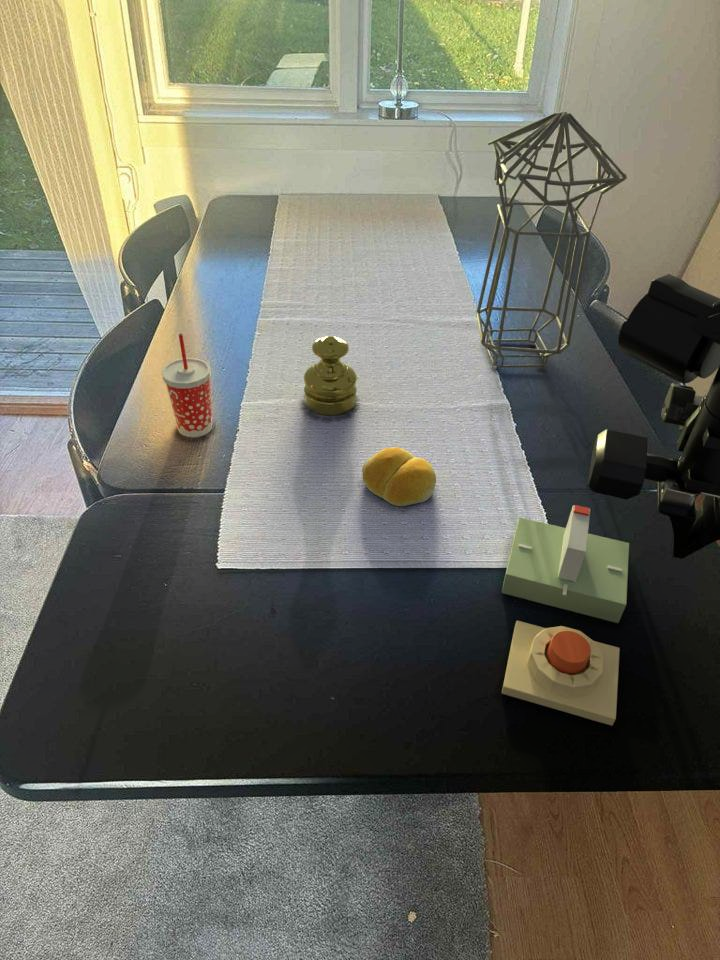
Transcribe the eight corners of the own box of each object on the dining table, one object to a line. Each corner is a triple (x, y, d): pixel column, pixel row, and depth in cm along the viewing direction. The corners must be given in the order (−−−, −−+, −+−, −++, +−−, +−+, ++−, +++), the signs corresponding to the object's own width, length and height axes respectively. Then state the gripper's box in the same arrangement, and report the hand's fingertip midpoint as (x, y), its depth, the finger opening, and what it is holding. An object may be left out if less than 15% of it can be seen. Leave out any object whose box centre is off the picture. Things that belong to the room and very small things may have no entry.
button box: (616, 654, 68) (625, 636, 66) (612, 726, 63) (621, 708, 61) (514, 627, 70) (519, 608, 69) (501, 693, 65) (506, 675, 63)
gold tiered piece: (309, 419, 96) (308, 356, 90) (300, 389, 102) (298, 328, 95) (361, 413, 98) (363, 350, 91) (349, 384, 103) (351, 323, 97)
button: (587, 647, 66) (592, 636, 65) (584, 679, 63) (589, 667, 62) (549, 637, 66) (553, 625, 65) (544, 667, 64) (548, 656, 63)
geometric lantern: (554, 332, 117) (609, 99, 94) (575, 385, 105) (644, 132, 82) (460, 329, 116) (492, 95, 94) (470, 381, 105) (509, 127, 82)
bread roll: (410, 518, 82) (413, 493, 79) (351, 485, 86) (352, 460, 83) (449, 483, 87) (453, 458, 84) (392, 453, 91) (393, 429, 88)
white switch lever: (575, 582, 71) (586, 550, 68) (557, 577, 72) (567, 545, 69) (580, 539, 76) (591, 507, 73) (563, 535, 76) (573, 503, 73)
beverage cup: (170, 416, 96) (153, 324, 87) (216, 411, 97) (204, 320, 88) (173, 443, 91) (155, 349, 82) (220, 437, 93) (208, 344, 83)
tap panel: (622, 556, 78) (630, 536, 76) (617, 630, 71) (626, 610, 69) (515, 530, 81) (520, 510, 79) (499, 599, 73) (504, 579, 71)
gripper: (861, 379, 56) (779, 519, 66) (620, 337, 60) (578, 475, 70) (895, 463, 48) (795, 608, 58) (614, 407, 52) (567, 552, 62)
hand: (677, 554), depth 62 cm, fingers closed
